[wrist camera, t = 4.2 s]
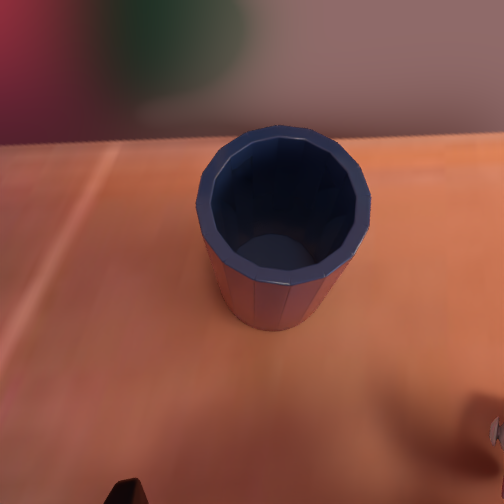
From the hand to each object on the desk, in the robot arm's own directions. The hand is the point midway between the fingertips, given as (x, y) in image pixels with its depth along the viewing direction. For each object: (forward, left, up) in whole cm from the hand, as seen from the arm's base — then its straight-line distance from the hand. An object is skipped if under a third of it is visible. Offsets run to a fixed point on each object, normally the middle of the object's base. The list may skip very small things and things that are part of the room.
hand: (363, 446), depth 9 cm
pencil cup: (+5, +5, -13) cm, 15 cm away
